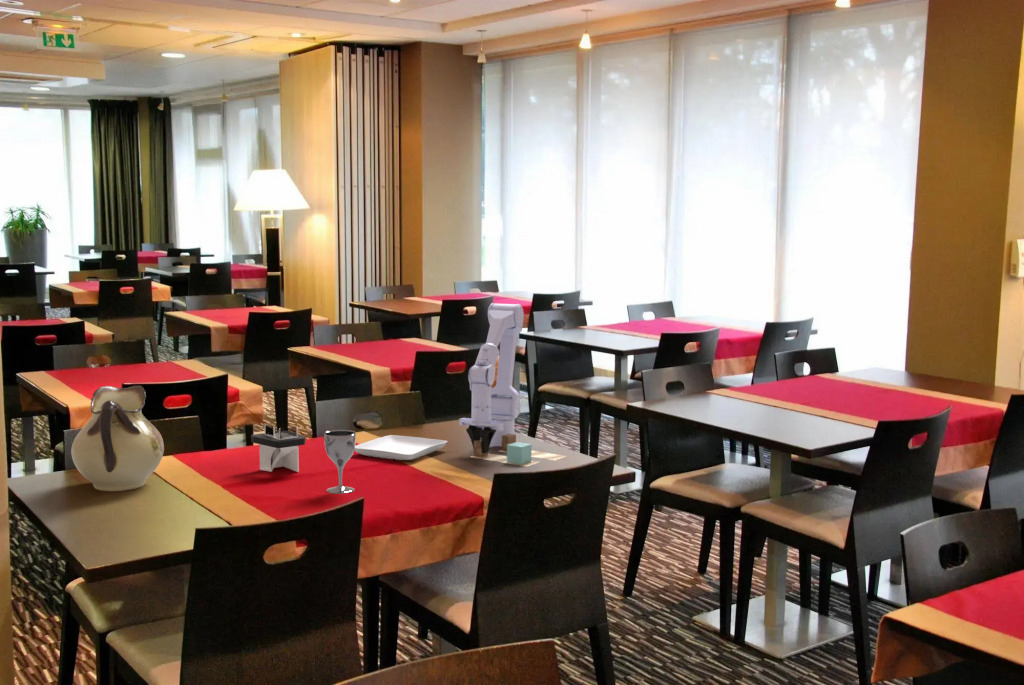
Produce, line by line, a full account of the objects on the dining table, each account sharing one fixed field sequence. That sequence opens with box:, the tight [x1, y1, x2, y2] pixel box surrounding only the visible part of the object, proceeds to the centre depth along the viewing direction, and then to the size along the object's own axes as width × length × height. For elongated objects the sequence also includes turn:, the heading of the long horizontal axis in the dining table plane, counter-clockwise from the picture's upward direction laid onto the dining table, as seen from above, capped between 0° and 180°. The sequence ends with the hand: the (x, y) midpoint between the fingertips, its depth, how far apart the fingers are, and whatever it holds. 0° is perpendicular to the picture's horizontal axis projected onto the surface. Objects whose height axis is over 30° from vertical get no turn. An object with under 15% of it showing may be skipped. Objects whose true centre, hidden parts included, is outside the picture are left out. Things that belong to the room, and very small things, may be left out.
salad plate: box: [354, 434, 448, 462], centre depth 315 cm, size 21×21×3 cm
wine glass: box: [323, 429, 357, 495], centre depth 271 cm, size 8×8×15 cm
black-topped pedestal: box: [250, 423, 307, 473], centre depth 291 cm, size 28×26×13 cm
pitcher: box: [70, 385, 165, 492], centre depth 272 cm, size 22×24×25 cm
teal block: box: [506, 441, 533, 465], centre depth 302 cm, size 5×5×5 cm
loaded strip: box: [470, 439, 541, 467], centre depth 305 cm, size 20×7×5 cm, turn 55°
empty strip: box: [497, 433, 568, 461], centre depth 312 cm, size 20×7×5 cm, turn 55°
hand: (481, 452), depth 309 cm, fingers closed on loaded strip, 2 cm apart
